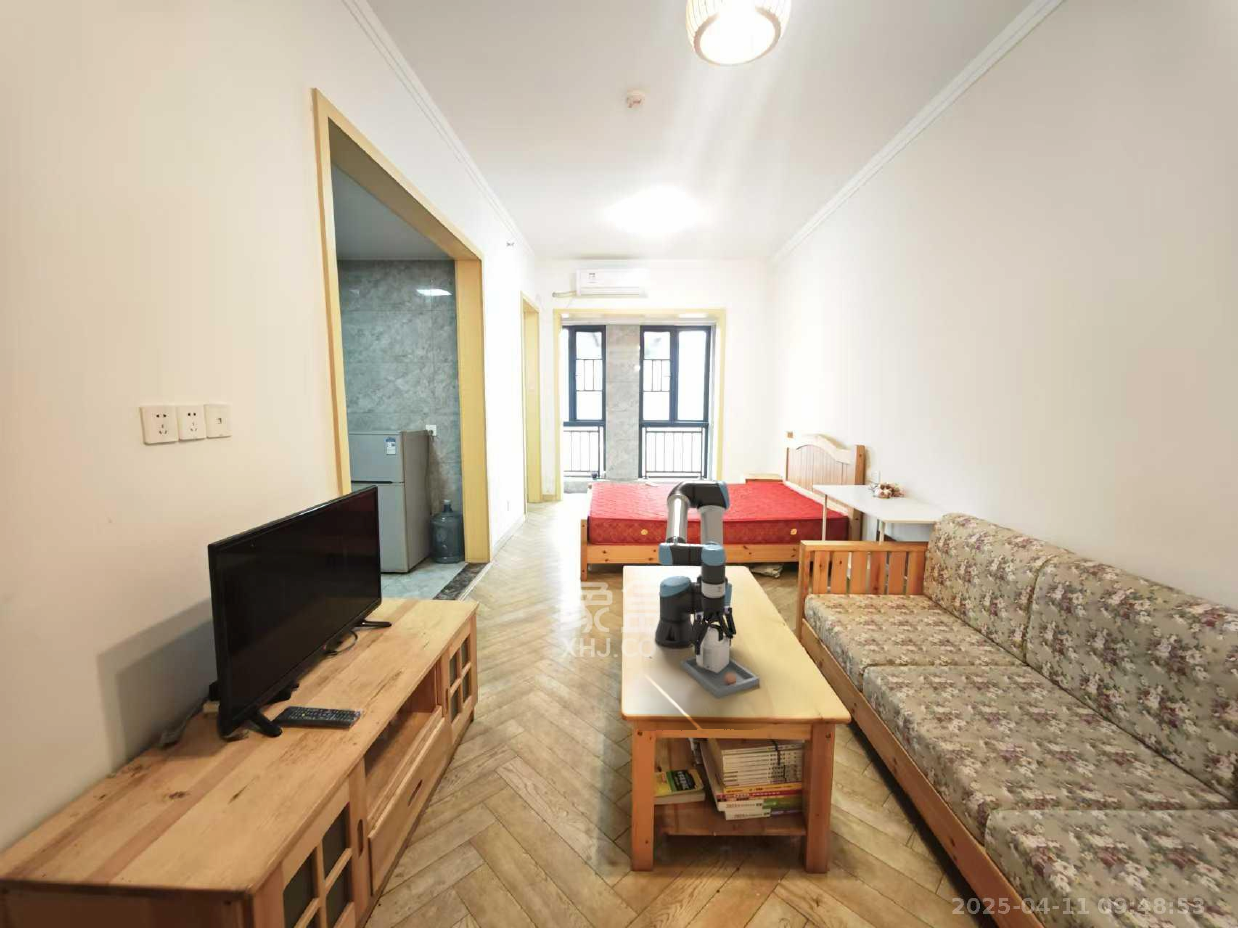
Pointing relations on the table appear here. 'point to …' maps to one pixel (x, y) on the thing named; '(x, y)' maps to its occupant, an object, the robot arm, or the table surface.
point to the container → (715, 649)
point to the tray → (721, 677)
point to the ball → (730, 678)
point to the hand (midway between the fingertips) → (712, 659)
